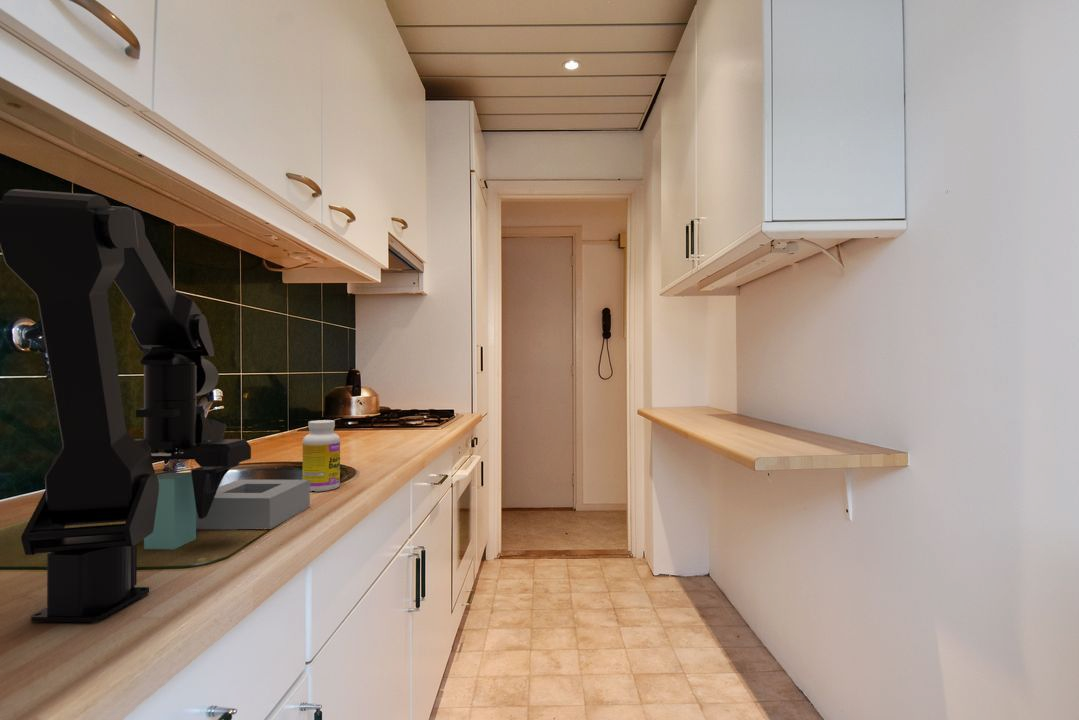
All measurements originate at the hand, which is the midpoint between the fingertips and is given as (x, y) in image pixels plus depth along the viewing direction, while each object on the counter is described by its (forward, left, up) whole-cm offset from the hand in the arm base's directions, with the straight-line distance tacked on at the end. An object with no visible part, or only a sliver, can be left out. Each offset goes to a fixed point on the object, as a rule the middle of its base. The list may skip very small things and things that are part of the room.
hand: (170, 517), depth 69 cm
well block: (+12, -4, -3) cm, 13 cm away
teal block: (0, 0, -3) cm, 3 cm away
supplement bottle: (+31, -6, -4) cm, 32 cm away
